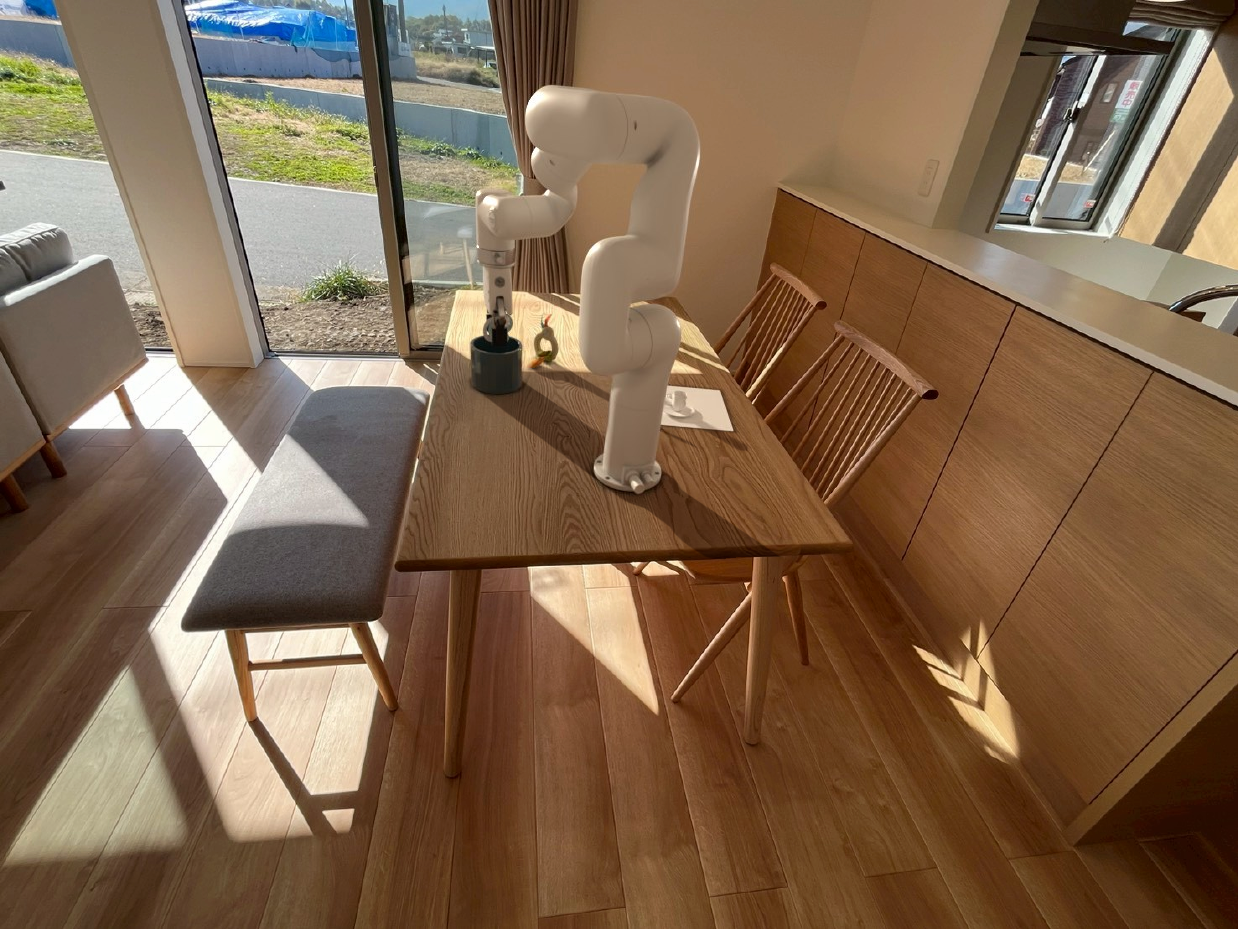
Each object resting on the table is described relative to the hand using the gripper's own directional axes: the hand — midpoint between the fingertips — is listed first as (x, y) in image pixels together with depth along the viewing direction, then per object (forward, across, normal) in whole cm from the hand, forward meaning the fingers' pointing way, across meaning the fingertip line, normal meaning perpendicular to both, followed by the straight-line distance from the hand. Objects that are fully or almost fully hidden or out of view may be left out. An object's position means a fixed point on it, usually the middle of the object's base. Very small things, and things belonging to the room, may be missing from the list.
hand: (496, 338), depth 130 cm
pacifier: (-1, +1, 0) cm, 1 cm away
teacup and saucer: (+11, -16, -40) cm, 44 cm away
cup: (+11, 0, 0) cm, 11 cm away
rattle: (+11, +11, -12) cm, 20 cm away
